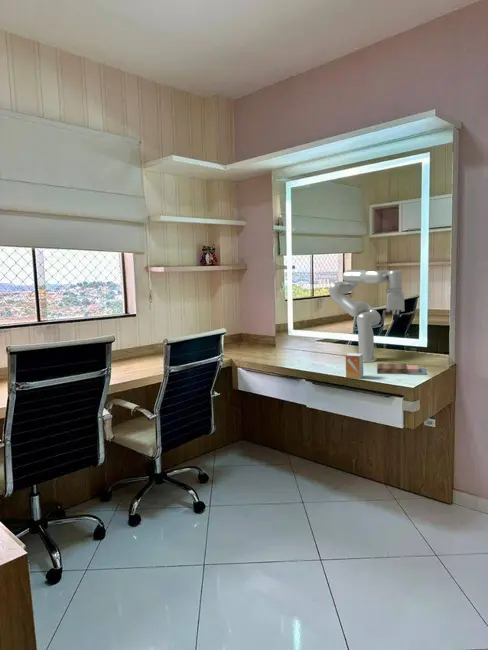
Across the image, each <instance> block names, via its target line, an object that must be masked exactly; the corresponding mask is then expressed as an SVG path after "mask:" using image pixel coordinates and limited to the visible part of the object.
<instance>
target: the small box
mask: <svg viewBox="0 0 488 650" xmlns="http://www.w3.org/2000/svg"><path fill="white" fill-rule="evenodd" d="M363 377H364V362H363V354H358V353H351V352H348V353H347V354H346V355H345V378H348V379H357V380H360V379H362V378H363Z"/></svg>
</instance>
